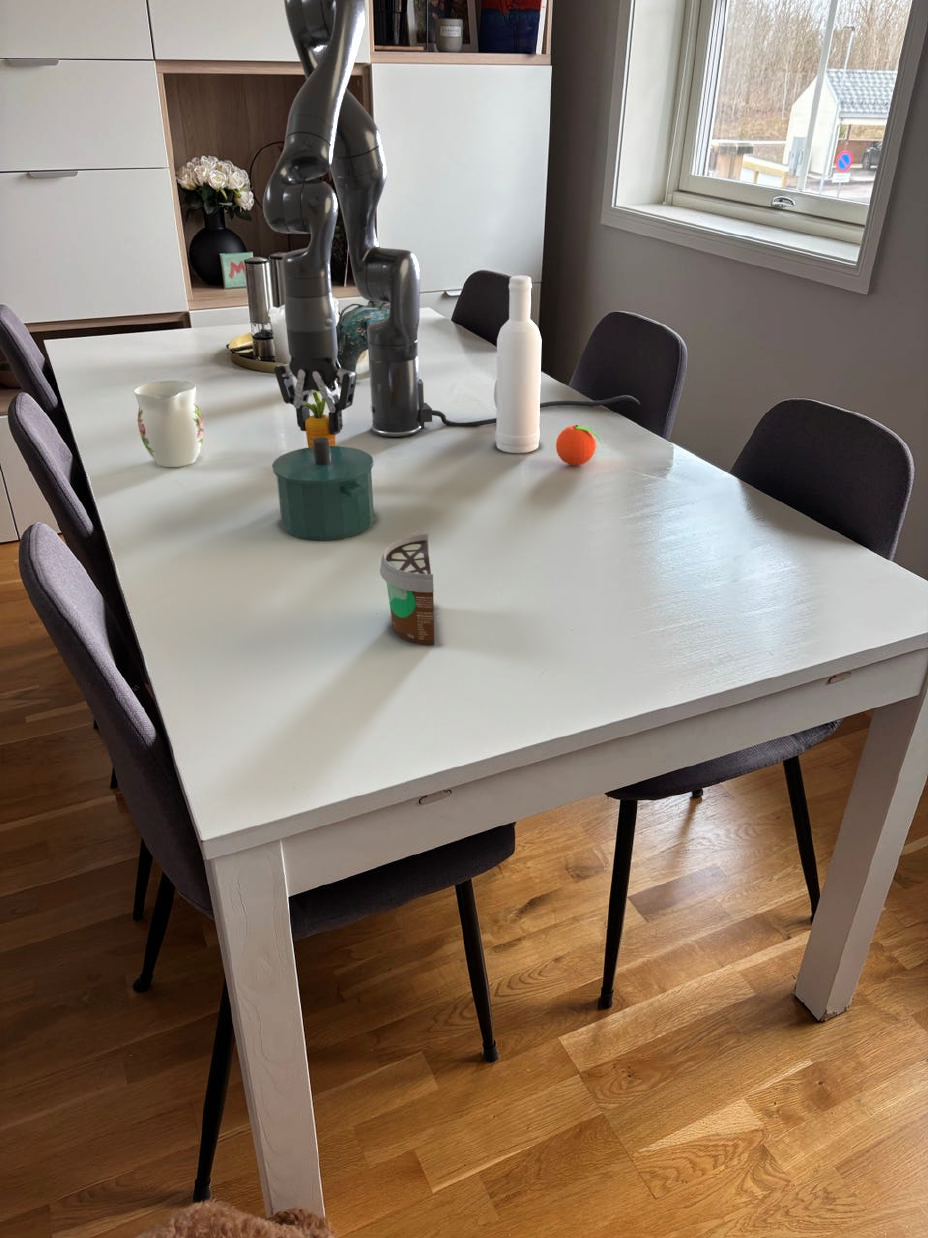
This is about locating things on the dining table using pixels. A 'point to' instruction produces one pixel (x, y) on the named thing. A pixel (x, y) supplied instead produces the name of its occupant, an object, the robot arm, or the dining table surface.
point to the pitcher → (170, 422)
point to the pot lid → (322, 464)
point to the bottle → (518, 373)
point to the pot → (326, 508)
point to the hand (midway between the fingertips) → (320, 431)
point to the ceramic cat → (356, 331)
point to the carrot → (318, 422)
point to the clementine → (576, 445)
